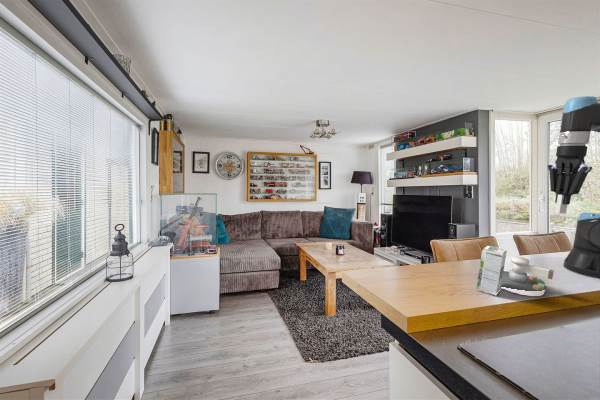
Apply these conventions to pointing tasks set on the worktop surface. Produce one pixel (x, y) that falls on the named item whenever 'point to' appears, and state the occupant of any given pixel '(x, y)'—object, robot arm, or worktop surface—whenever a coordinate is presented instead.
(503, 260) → the syrup box
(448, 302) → the worktop surface
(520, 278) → the grey shoe
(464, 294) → the worktop surface
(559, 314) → the worktop surface
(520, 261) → the peg
